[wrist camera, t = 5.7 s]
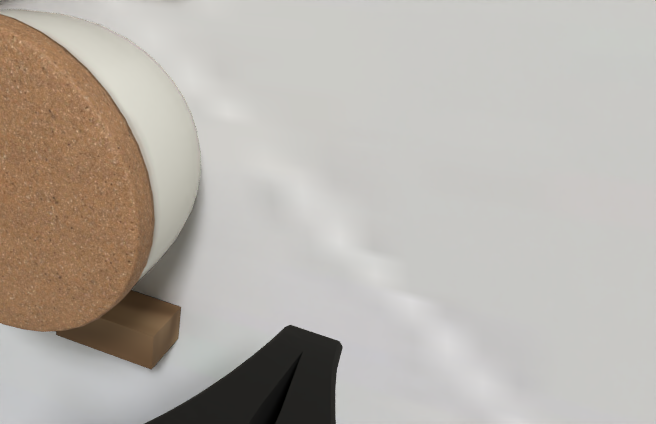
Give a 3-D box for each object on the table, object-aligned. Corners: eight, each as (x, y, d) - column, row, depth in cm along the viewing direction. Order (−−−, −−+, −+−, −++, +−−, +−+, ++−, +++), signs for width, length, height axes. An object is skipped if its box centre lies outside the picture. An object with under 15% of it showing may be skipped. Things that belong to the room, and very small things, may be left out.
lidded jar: (232, 264, 25) (107, 406, 17) (34, 207, 27) (-166, 310, 19) (254, 26, 21) (96, 60, 12) (14, -23, 22) (-264, -23, 14)
